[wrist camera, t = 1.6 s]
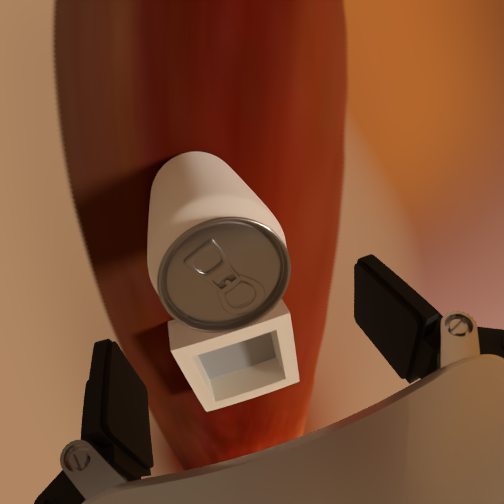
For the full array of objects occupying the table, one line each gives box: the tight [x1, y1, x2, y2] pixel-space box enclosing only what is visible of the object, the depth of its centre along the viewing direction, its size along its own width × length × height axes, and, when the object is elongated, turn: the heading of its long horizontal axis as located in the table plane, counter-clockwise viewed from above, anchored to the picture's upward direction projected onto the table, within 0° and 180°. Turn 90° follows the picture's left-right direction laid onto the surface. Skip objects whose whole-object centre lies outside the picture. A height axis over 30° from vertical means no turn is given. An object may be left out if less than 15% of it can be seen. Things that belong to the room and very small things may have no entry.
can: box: [147, 152, 291, 333], centre depth 18 cm, size 6×6×12 cm
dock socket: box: [168, 298, 299, 412], centre depth 30 cm, size 10×10×4 cm
